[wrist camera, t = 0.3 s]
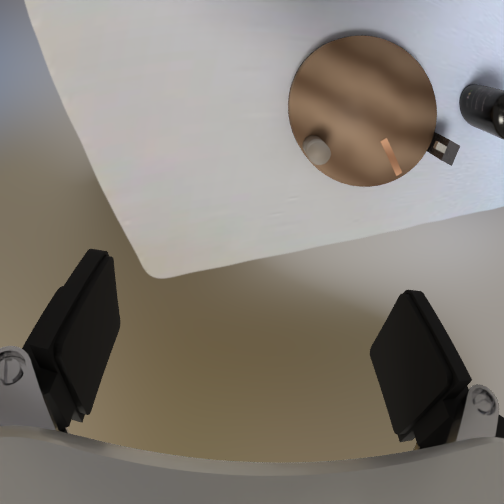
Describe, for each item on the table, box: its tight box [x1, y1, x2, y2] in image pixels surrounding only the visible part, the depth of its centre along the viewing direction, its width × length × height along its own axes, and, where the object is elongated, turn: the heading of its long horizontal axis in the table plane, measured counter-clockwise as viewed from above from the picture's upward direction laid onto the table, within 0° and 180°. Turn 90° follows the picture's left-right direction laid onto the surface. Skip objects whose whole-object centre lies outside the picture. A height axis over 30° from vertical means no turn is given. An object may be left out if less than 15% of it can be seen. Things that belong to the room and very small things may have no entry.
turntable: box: [288, 36, 437, 187], centre depth 34 cm, size 20×20×6 cm
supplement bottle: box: [460, 84, 504, 139], centre depth 30 cm, size 7×7×12 cm
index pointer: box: [427, 132, 460, 166], centre depth 37 cm, size 3×4×6 cm
